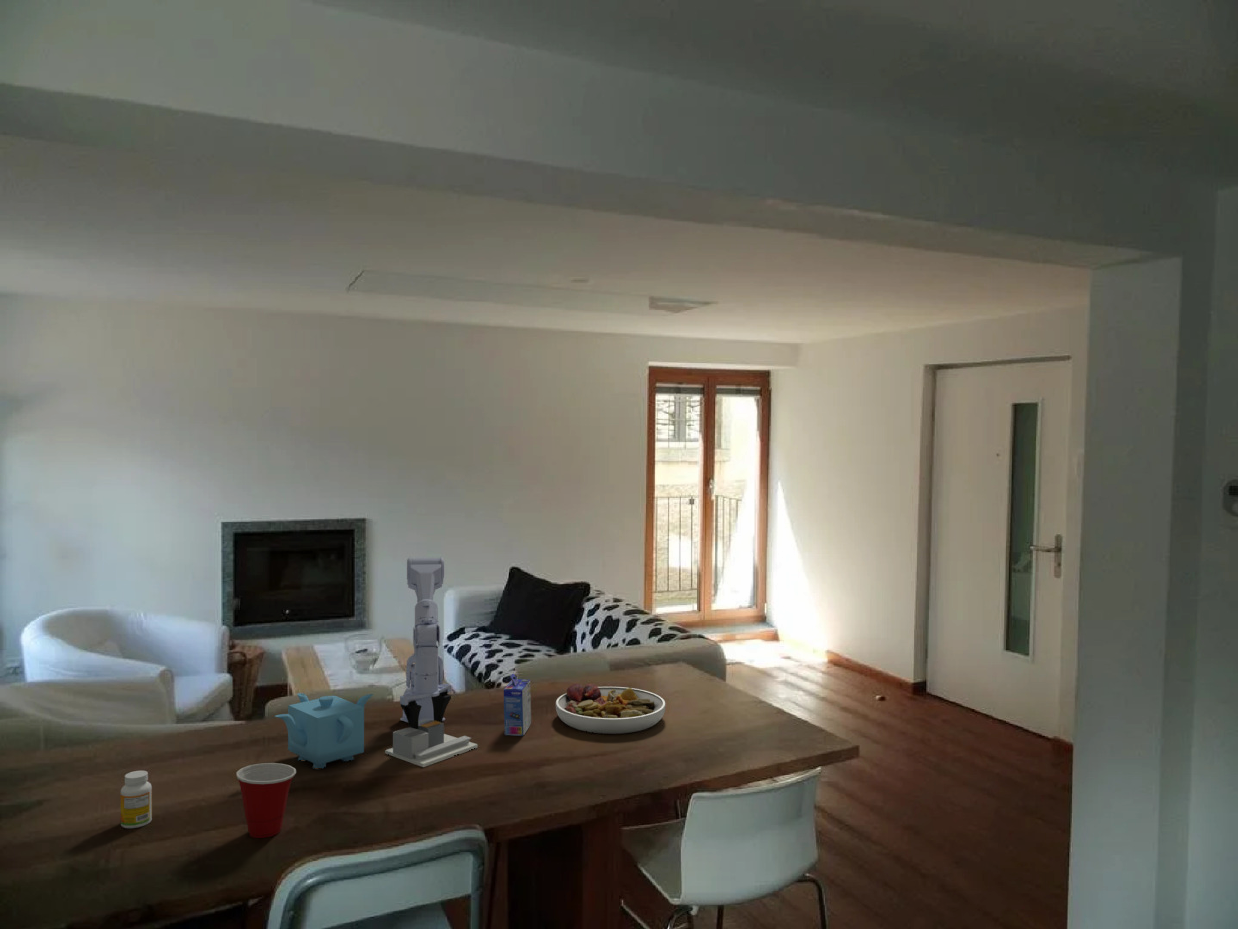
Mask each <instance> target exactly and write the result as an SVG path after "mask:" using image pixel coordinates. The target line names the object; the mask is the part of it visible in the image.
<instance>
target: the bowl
mask: <svg viewBox="0 0 1238 929" xmlns="http://www.w3.org/2000/svg"><path fill="white" fill-rule="evenodd" d="M555 710H556V714H557V716H558V717H559V719H560V720H561V721H562V722H563V723H565V725H567V726H568V727H571V728H573V729H576V730H579V731H583V732H586V731H587V732H588V733H592V732H593V734H601V733H602V735H603V734H605V735H607V734H608V735H617V734H630V733H635V732H641V731H644V730H647V729H649V728H651V727H653V726H655V725H656V724H657V723H659V722H660V720H662V718H663V716H664V714H665V712H666V701H665V699H664V698H663V697H661V696H660V695H658V694H656V693H654V692H651V691H648V690H643V689H639V688H633V687H624V686H623V687H622V686H597V685H596V684H595V683H594V684H593V683H588V684H587V685H585V686H583V685H582V684H580V683H574V684H572V685H570V686H569V687H567V689H566V693H564V694H562V695H560V696H559V697H557V699H556V701H555ZM587 732H586V733H587Z"/></svg>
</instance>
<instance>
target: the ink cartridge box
mask: <svg viewBox="0 0 1238 929" xmlns="http://www.w3.org/2000/svg"><path fill="white" fill-rule="evenodd" d="M509 678H510V681H509V683H508V684H507V685H506V686H505V687H504V688H503V715H504V716H503V719H504V721H503V723H504V725H503V726H504V727H503V728H504V736H514V737H515V736H516V737H517V736H518V737H523V736H525V734H526V732H527V731H528V729H529V728H530V726H531V725H532V708H531V707H532V705H531V701H532V699H531V698H532V696H531V679H524V678H523V679H521V678H520V679H519V678H517V676H516V675H515V673H512V674H511V675H510V676H509Z"/></svg>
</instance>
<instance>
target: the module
mask: <svg viewBox="0 0 1238 929" xmlns="http://www.w3.org/2000/svg"><path fill="white" fill-rule="evenodd" d="M418 730H422V731H425V732H427V733H429V742H428V748H430V747H433V746H436V745H439V744H442V743H444V734H445V723H443V722H442V723H441V722H438V721H433V720H430V719H427V718H424V719H420V720H418Z"/></svg>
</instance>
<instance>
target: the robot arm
mask: <svg viewBox="0 0 1238 929" xmlns="http://www.w3.org/2000/svg"><path fill="white" fill-rule="evenodd" d="M444 578H445V558H443V556H439V557H412V558H411V557H408V558H407V560H406V580H407V582H406V584H407V585H408V587H407V588H408V589H410V590H413V591H414V593H415V596H416V599H417V600H416V602H417V603H416V604H415V606H414V627H413V628H412V645H413V652H414V653H412V654H411V655H409V656H408V658H407V660H406V668H405V672H406V673H405V674H406V675H405V676H406V677H405V680H406V684H405V687H407V688H406V689H405V690H404V692H403V695H400V696H399V697H400V698H399V703H400V704H399V705H400V707H401V709H402V717H401V718H400V721H403V722H405V723H408V727H411V728H414V729H417V730H418V720H420V719H424V718H427V719H430V720H433V721H438V722H441V723H443V722H444V721H446V718H445V717H444V716H445V712H446V709H447V706H449V705H448V704H449V703H450V700H451V699H452V694H449V693H452V684H449V683H444V674H445V673H444V671H445V670H444V660H443V657H442V656H441V655H440V654H439V647H440V646H441V627H440V621H439V613H438V612H439V609H438V604H437V603H436V601H434V596H435V595H434V594H435V592H436V590H438V589H440V588H442V586H443V584H444ZM437 644H438V645H437ZM451 701H452V700H451Z"/></svg>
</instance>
